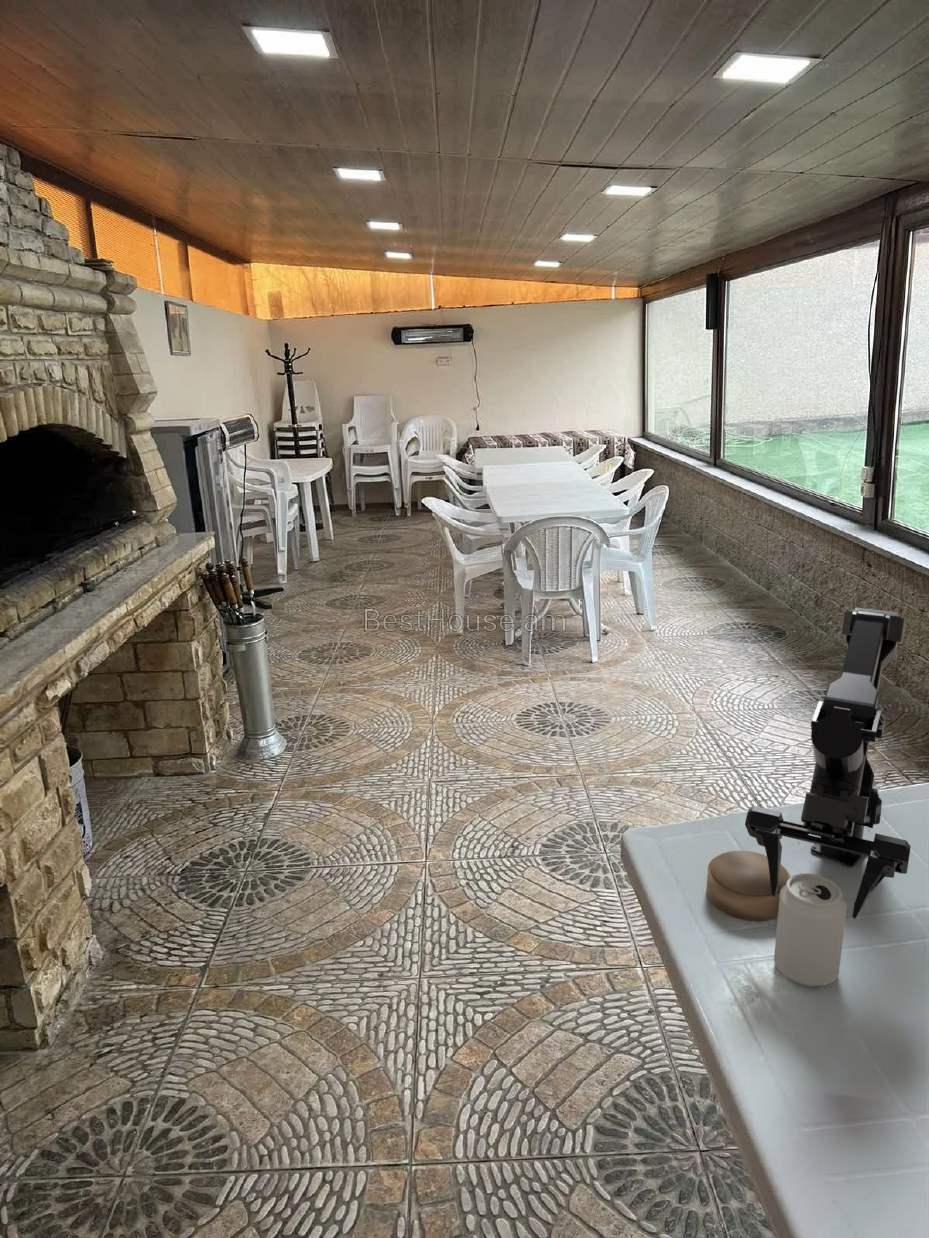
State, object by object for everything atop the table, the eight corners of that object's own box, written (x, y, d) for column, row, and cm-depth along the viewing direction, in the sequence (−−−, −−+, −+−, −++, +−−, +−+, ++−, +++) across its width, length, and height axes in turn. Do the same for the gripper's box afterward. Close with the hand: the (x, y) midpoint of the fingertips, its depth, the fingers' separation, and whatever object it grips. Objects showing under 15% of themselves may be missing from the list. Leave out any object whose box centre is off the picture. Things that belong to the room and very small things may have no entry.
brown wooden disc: (731, 863, 128) (733, 840, 126) (803, 894, 120) (805, 870, 119) (691, 896, 121) (692, 872, 119) (764, 932, 113) (766, 906, 112)
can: (844, 994, 102) (854, 909, 98) (777, 987, 103) (785, 903, 100) (831, 952, 109) (841, 871, 105) (769, 946, 110) (776, 866, 107)
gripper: (753, 748, 108) (726, 869, 102) (920, 781, 99) (900, 916, 93) (762, 778, 117) (737, 891, 111) (916, 810, 108) (897, 935, 102)
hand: (812, 906), depth 104 cm, fingers open, 9 cm apart
